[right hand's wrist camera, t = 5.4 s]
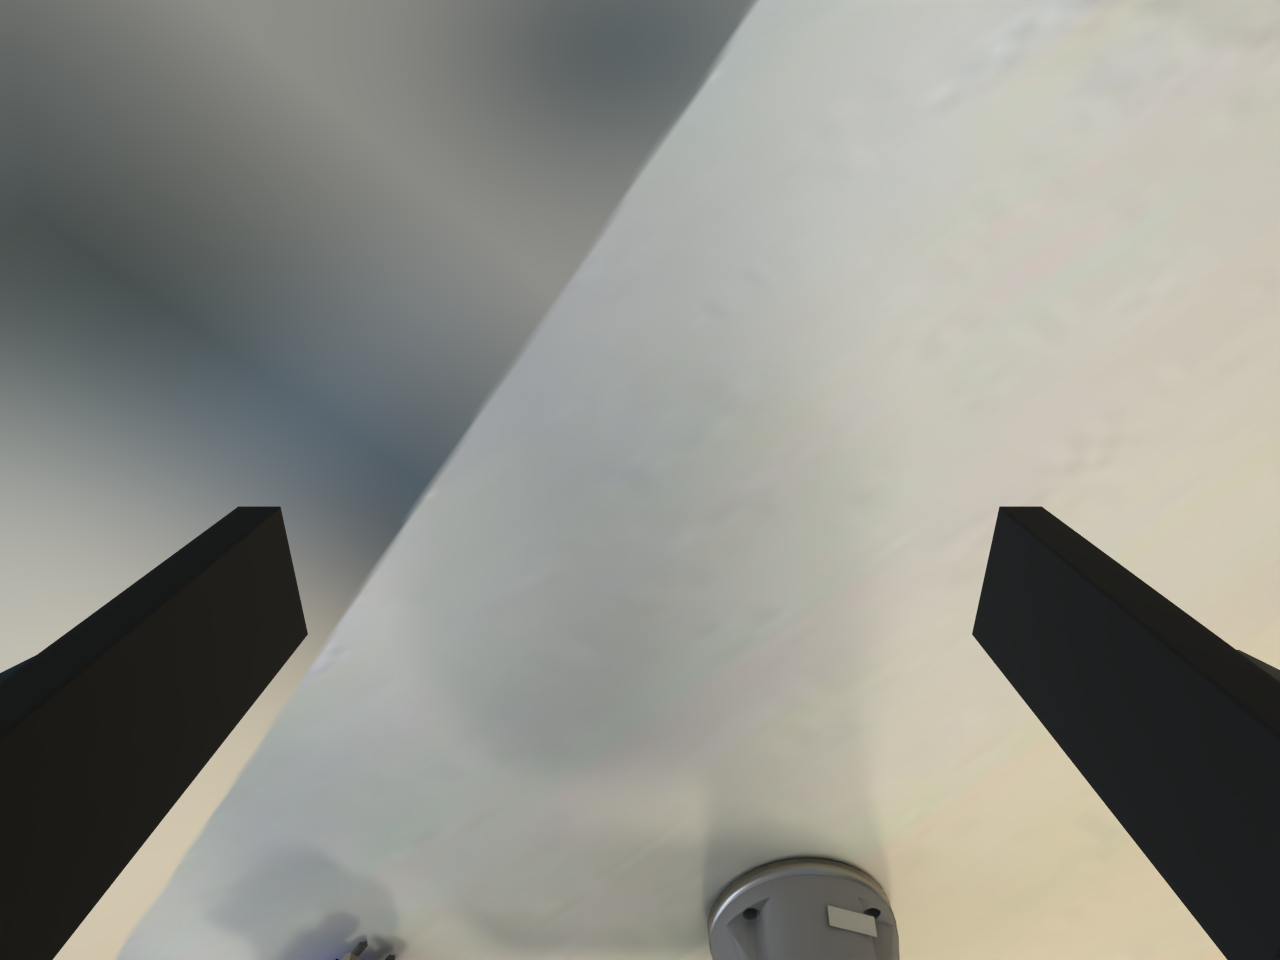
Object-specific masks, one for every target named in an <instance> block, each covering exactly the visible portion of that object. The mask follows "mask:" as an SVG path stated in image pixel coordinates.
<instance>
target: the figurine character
mask: <svg viewBox="0 0 1280 960" xmlns="http://www.w3.org/2000/svg"><path fill="white" fill-rule="evenodd" d="M366 947H367V941H365V942H361V943H359V944H358V945H357V947H356V948H355V949H354V950H353V951H352V952H351V953H350V952H348V953H347V954H345V955H344V956H343V957H342V959H341V960H362V959H361V958H359V957H358V956H359V955H360V954H361V953H362V951H363V950H364V949H365V948H366ZM336 960H338V959H336ZM385 960H395V955H389V956H388V957H387V958H386V959H385Z"/></svg>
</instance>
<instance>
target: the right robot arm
mask: <svg viewBox="0 0 1280 960" xmlns="http://www.w3.org/2000/svg"><path fill="white" fill-rule="evenodd" d="M307 635H308V633H307V628H306V624H305V619H304V614H303V610H302V605H301V600H300V596H299V591H298V586H297V582H296V577H295V572H294V568H293V563H292V559H291V554H290V549H289V544H288V540H287V535H286V531H285V526H284V521H283V517H282V512H281V507H237V508H236V509H235V510H233V511H232V512H231V513H229V514H228V515H226V516H225V517H224V518H222V519H221V520H220V521H218V522H217V523H216V524H214V525H213V526H211V527H210V528H209V529H208V530H206V531H205V532H203V533H202V534H201V535H199V536H198V537H197V538H195V539H194V540H192V541H191V542H190V543H188V544H187V545H186V546H184V547H183V548H182V549H180V550H179V551H178V552H176V553H175V554H173V555H172V556H171V557H169V558H168V559H167V560H165V561H164V562H163V563H161V564H160V565H158V566H157V567H156V568H154V569H153V570H152V571H150V572H149V573H148V574H146V575H145V576H144V577H142V578H141V579H139V580H138V581H137V582H135V583H134V584H133V585H131V586H130V587H129V588H127V589H126V590H125V591H123V592H122V593H120V594H119V595H118V596H117V597H115V598H114V599H112V600H111V601H110V602H108V603H107V604H106V605H104V606H103V607H101V608H100V609H99V610H97V611H96V612H95V613H93V614H92V615H91V616H89V617H88V618H87V619H85V620H84V621H83V622H81V623H80V624H78V625H77V626H76V627H74V628H73V629H72V630H70V631H69V632H67V633H66V634H65V635H63V636H62V637H61V638H59V639H58V640H57V641H55V642H54V643H53V644H51V645H50V646H48V647H47V648H46V649H44V650H43V651H42V652H40V653H39V654H38V655H36V656H34V657H32V658H30V659H28V660H26V661H24V662H22V663H20V664H18V665H16V666H14V667H12V668H10V669H8V670H6V671H4V672H2V673H0V960H53V958H54V957H55V956H56V955H57V953H58V952H59V951H60V949H61V948H62V947H63V946H64V944H65V943H66V942H67V941H68V939H69V938H70V937H71V935H72V934H73V933H74V932H75V930H76V929H77V928H78V926H79V925H80V924H81V923H82V921H83V920H84V919H85V918H86V916H87V915H88V914H89V912H90V911H91V910H92V909H93V907H94V906H95V905H96V904H97V902H98V901H99V900H100V898H101V897H102V896H103V895H104V893H105V892H106V891H107V890H108V888H109V887H110V886H111V884H112V883H113V882H114V881H115V879H116V878H117V877H118V876H119V874H120V873H121V872H122V870H123V869H124V868H125V867H126V865H127V864H128V863H129V862H130V860H131V859H132V858H133V856H134V855H135V854H136V853H137V851H138V850H139V849H140V848H141V846H142V845H143V844H144V842H145V841H146V840H147V839H148V837H149V836H150V835H151V833H152V832H153V831H154V830H155V828H156V827H157V826H158V825H159V823H160V822H161V821H162V819H163V818H164V817H165V816H166V814H167V813H168V812H169V810H170V809H171V808H172V807H173V805H174V804H175V803H176V802H177V800H178V799H179V798H180V797H181V795H182V794H183V793H184V791H185V790H186V789H187V788H188V786H189V785H190V784H191V783H192V781H193V780H194V779H195V777H196V776H197V775H198V774H199V772H200V771H201V770H202V768H203V767H204V766H205V765H206V763H207V762H208V761H209V759H210V758H211V757H212V756H213V754H214V753H215V752H216V751H217V749H218V748H219V747H220V746H221V744H222V743H223V742H224V740H225V739H226V738H227V737H228V735H229V734H230V733H231V731H232V730H233V729H234V728H235V726H236V725H237V724H238V723H239V721H240V720H241V719H242V718H243V716H244V715H245V714H246V712H247V711H248V710H249V709H250V707H251V706H252V705H253V703H254V702H255V701H256V700H257V698H258V697H259V696H260V695H261V693H262V692H263V691H264V689H265V688H266V687H267V686H268V684H269V683H270V682H271V681H272V679H273V678H274V677H275V675H276V674H277V673H278V672H279V670H280V669H281V668H282V667H283V665H284V664H285V663H286V661H287V660H288V659H289V658H290V656H291V655H292V654H293V653H294V651H295V650H296V649H297V647H298V646H299V645H300V644H301V642H302V641H303V640H304V639H305V637H306V636H307ZM972 635H973V636H974V637H975V639H976V640H977V641H978V642H979V644H980V645H981V646H982V647H983V649H984V650H985V651H986V653H987V654H988V655H989V656H990V658H991V659H992V660H993V661H994V663H995V664H996V665H997V667H998V668H999V669H1000V670H1001V672H1002V673H1003V674H1004V675H1005V677H1006V678H1007V679H1008V681H1009V682H1010V683H1011V684H1012V686H1013V687H1014V688H1015V689H1016V691H1017V692H1018V693H1019V695H1020V696H1021V697H1022V698H1023V700H1024V701H1025V702H1026V704H1027V705H1028V706H1029V707H1030V709H1031V710H1032V711H1033V712H1034V714H1035V715H1036V716H1037V718H1038V719H1039V720H1040V721H1041V723H1042V724H1043V725H1044V726H1045V728H1046V729H1047V730H1048V732H1049V733H1050V734H1051V735H1052V737H1053V738H1054V739H1055V740H1056V742H1057V743H1058V744H1059V746H1060V747H1061V748H1062V749H1063V751H1064V752H1065V753H1066V754H1067V756H1068V757H1069V758H1070V760H1071V761H1072V762H1073V763H1074V765H1075V766H1076V767H1077V768H1078V770H1079V771H1080V772H1081V774H1082V775H1083V776H1084V777H1085V779H1086V780H1087V781H1088V783H1089V784H1090V785H1091V786H1092V788H1093V789H1094V790H1095V791H1096V793H1097V794H1098V795H1099V797H1100V798H1101V799H1102V800H1103V802H1104V803H1105V804H1106V805H1107V807H1108V808H1109V809H1110V811H1111V812H1112V813H1113V814H1114V816H1115V817H1116V818H1117V819H1118V821H1119V822H1120V823H1121V825H1122V826H1123V827H1124V828H1125V830H1126V831H1127V832H1128V833H1129V835H1130V836H1131V837H1132V839H1133V840H1134V841H1135V842H1136V844H1137V845H1138V846H1139V848H1140V849H1141V850H1142V851H1143V853H1144V854H1145V855H1146V856H1147V858H1148V859H1149V860H1150V862H1151V863H1152V864H1153V865H1154V867H1155V868H1156V869H1157V870H1158V872H1159V873H1160V874H1161V876H1162V877H1163V878H1164V879H1165V881H1166V882H1167V883H1168V884H1169V886H1170V887H1171V888H1172V890H1173V891H1174V892H1175V893H1176V895H1177V896H1178V897H1179V898H1180V900H1181V901H1182V902H1183V904H1184V905H1185V906H1186V907H1187V909H1188V910H1189V911H1190V912H1191V914H1192V915H1193V916H1194V918H1195V919H1196V920H1197V921H1198V923H1199V924H1200V925H1201V927H1202V928H1203V929H1204V930H1205V932H1206V933H1207V934H1208V935H1209V937H1210V938H1211V939H1212V941H1213V942H1214V943H1215V944H1216V946H1217V947H1218V948H1219V949H1220V951H1221V952H1222V953H1223V955H1224V956H1225V957H1226V958H1227V960H1280V670H1278V669H1276V668H1274V667H1272V666H1270V665H1268V664H1266V663H1264V662H1262V661H1260V660H1258V659H1256V658H1254V657H1252V656H1250V655H1248V654H1246V653H1244V652H1242V651H1240V650H1236V649H1234V648H1233V647H1232V646H1230V645H1229V644H1227V643H1226V642H1225V641H1223V640H1222V639H1221V638H1219V637H1218V636H1217V635H1215V634H1214V633H1213V632H1211V631H1210V630H1208V629H1207V628H1206V627H1204V626H1203V625H1202V624H1200V623H1199V622H1198V621H1196V620H1195V619H1193V618H1192V617H1191V616H1189V615H1188V614H1187V613H1185V612H1184V611H1183V610H1181V609H1180V608H1179V607H1177V606H1176V605H1174V604H1173V603H1172V602H1170V601H1169V600H1168V599H1166V598H1165V597H1164V596H1162V595H1161V594H1160V593H1158V592H1157V591H1155V590H1154V589H1153V588H1151V587H1150V586H1149V585H1147V584H1146V583H1145V582H1143V581H1142V580H1141V579H1139V578H1138V577H1136V576H1135V575H1134V574H1132V573H1131V572H1130V571H1128V570H1127V569H1126V568H1124V567H1123V566H1122V565H1120V564H1119V563H1117V562H1116V561H1115V560H1113V559H1112V558H1111V557H1109V556H1108V555H1107V554H1105V553H1104V552H1102V551H1101V550H1100V549H1098V548H1097V547H1096V546H1094V545H1093V544H1092V543H1090V542H1089V541H1088V540H1086V539H1085V538H1083V537H1082V536H1081V535H1079V534H1078V533H1077V532H1075V531H1074V530H1073V529H1071V528H1070V527H1069V526H1067V525H1066V524H1064V523H1063V522H1062V521H1060V520H1059V519H1058V518H1056V517H1055V516H1054V515H1052V514H1051V513H1050V512H1048V511H1047V510H1045V509H1044V508H1043V507H999V512H998V517H997V521H996V526H995V531H994V535H993V540H992V544H991V549H990V554H989V558H988V563H987V568H986V572H985V577H984V582H983V586H982V591H981V596H980V600H979V605H978V610H977V614H976V619H975V624H974V628H973V633H972ZM708 932H709V943H710V950H711V954H712V958H713V960H899V937H898V931H897V926H896V921H895V918H894V915H893V912H892V909H891V906H890V903H889V901H888V898H887V896H886V894H885V893H884V891H883V890H882V888H881V887H880V886H879V885H878V884H877V883H876V882H875V881H874V880H873V879H872V878H871V877H869V876H868V875H867V874H865V873H863V872H862V871H860V870H858V869H856V868H854V867H851V866H849V865H846V864H843V863H839V862H835V861H830V860H824V859H809V858H806V859H791V860H785V861H779V862H775V863H771V864H768V865H765V866H762V867H759V868H757V869H755V870H752V871H750V872H749V873H747V874H745V875H743V876H741V877H740V878H738V879H737V880H736V881H734V882H733V883H732V884H730V885H729V886H728V887H727V888H726V889H725V890H724V891H723V892H722V893H721V895H720V896H719V897H718V899H717V900H716V902H715V904H714V905H713V908H712V910H711V913H710V916H709V922H708Z"/></svg>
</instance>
